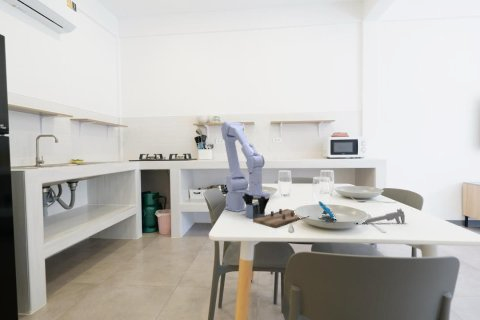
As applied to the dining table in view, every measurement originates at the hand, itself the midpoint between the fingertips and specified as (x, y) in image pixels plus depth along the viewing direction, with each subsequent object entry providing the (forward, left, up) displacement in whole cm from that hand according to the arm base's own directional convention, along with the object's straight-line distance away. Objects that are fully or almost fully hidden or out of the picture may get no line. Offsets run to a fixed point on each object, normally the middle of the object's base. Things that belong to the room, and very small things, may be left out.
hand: (255, 212), depth 118 cm
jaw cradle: (+11, +5, -2) cm, 12 cm away
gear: (+25, +19, -2) cm, 31 cm away
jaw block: (0, 0, -2) cm, 2 cm away
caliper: (+43, +27, -2) cm, 51 cm away
